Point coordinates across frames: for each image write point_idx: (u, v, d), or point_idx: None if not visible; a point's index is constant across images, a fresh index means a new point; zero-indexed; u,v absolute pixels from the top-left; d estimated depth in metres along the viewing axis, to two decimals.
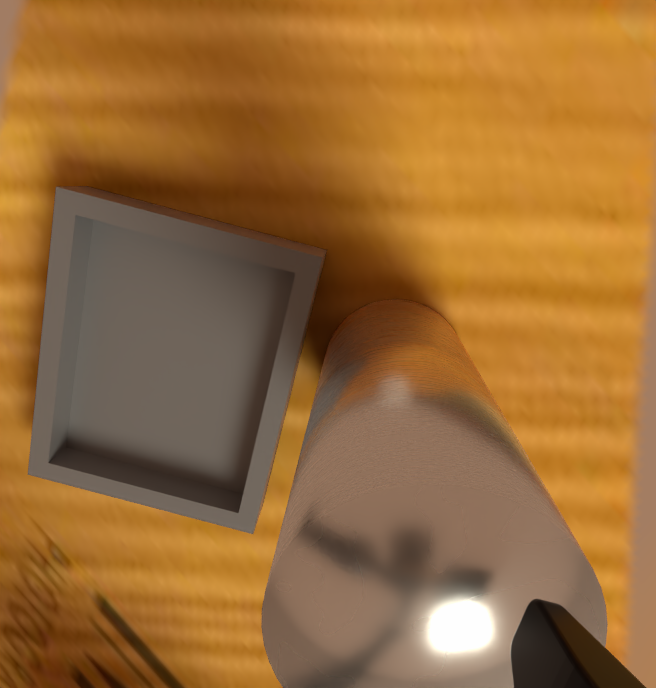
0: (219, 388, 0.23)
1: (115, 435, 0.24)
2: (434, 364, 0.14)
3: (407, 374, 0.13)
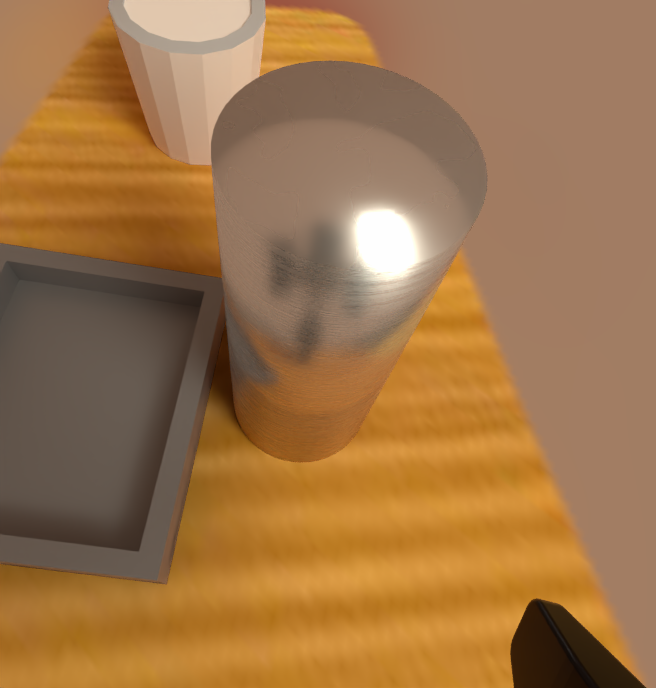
0: (123, 424, 0.21)
1: None
2: None
3: None
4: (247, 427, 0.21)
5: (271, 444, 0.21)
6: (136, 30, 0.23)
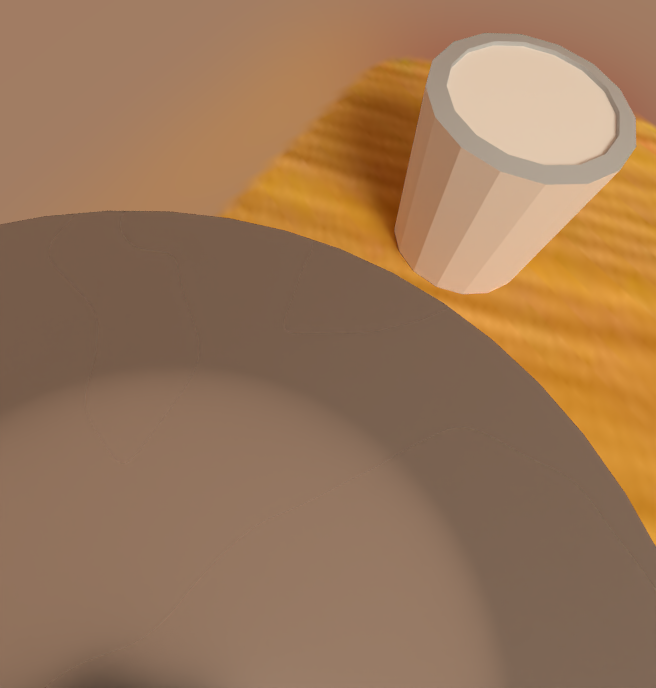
0: None
1: None
2: None
3: None
4: None
5: None
6: (460, 128, 0.16)
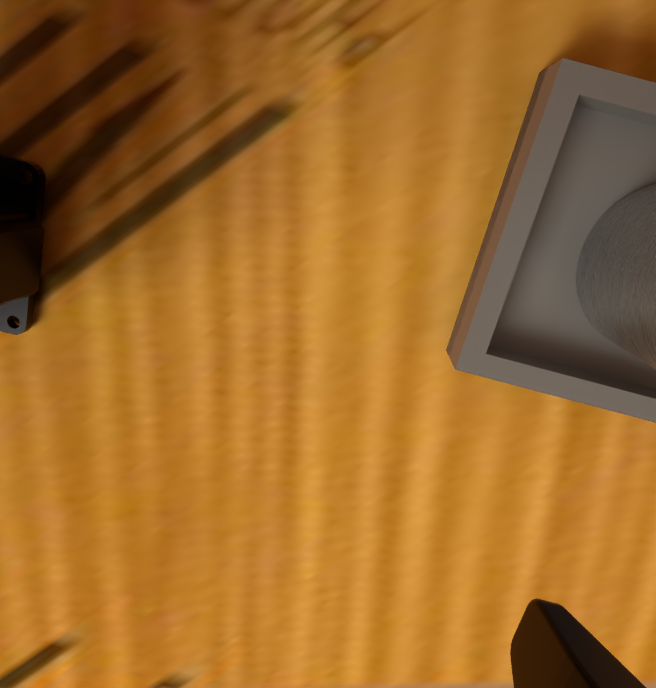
0: None
1: (573, 178, 0.18)
2: None
3: None
4: (621, 217, 0.17)
5: (601, 253, 0.17)
6: None
